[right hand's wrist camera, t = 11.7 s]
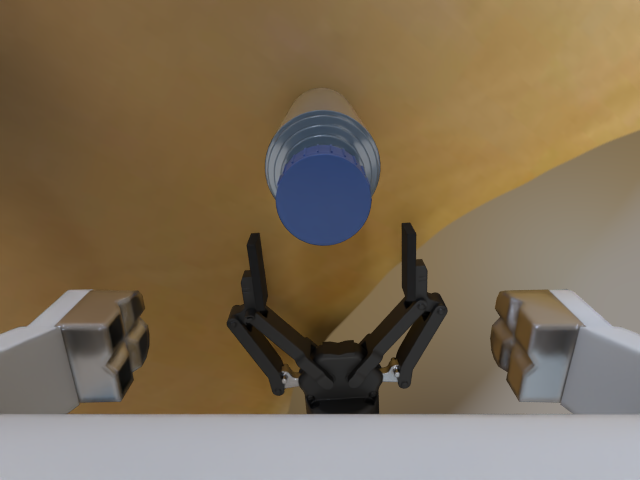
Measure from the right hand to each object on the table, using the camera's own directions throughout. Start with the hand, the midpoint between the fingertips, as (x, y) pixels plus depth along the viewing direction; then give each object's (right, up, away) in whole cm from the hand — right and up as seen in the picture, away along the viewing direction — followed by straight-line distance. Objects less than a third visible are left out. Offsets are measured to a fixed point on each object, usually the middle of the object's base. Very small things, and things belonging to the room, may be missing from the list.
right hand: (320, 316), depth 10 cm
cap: (0, +3, +9) cm, 9 cm away
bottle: (0, +13, +31) cm, 33 cm away
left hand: (+1, +2, +28) cm, 29 cm away
